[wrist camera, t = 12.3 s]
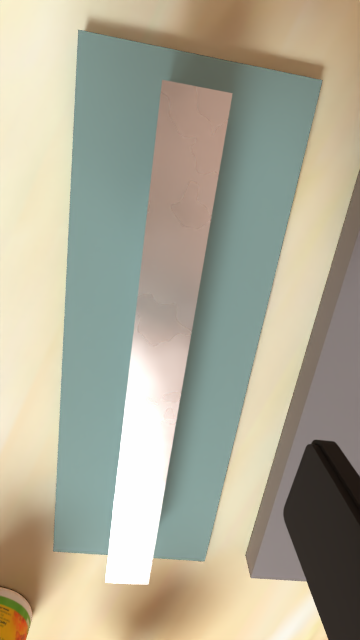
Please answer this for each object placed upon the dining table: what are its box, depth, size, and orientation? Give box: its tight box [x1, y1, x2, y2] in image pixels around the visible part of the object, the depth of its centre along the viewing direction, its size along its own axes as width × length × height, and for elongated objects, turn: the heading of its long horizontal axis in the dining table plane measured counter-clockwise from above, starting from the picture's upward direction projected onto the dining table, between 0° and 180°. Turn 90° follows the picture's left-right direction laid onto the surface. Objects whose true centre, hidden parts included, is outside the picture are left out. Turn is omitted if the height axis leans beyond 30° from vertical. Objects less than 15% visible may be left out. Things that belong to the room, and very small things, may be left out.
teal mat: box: [53, 30, 323, 561], centre depth 18 cm, size 28×10×1 cm, turn 171°
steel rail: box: [105, 80, 233, 585], centre depth 16 cm, size 24×2×3 cm, turn 171°
